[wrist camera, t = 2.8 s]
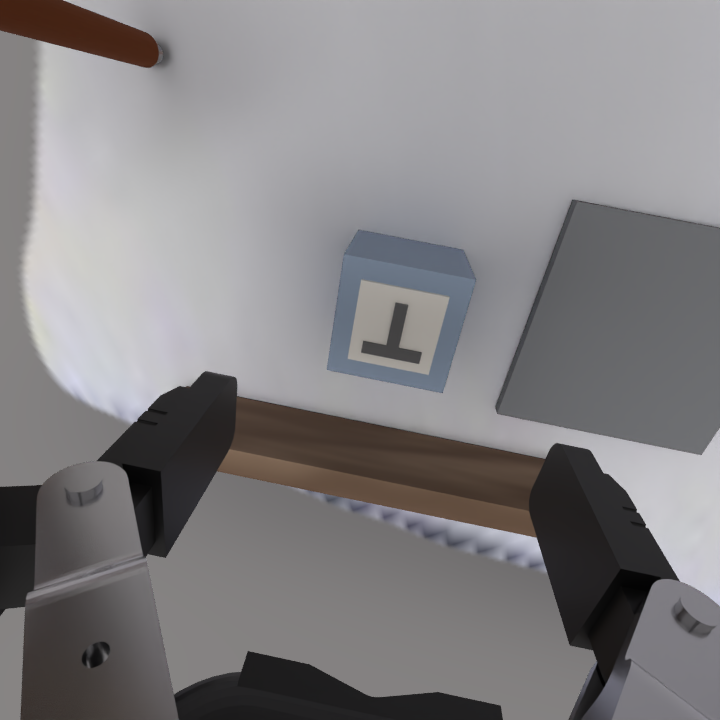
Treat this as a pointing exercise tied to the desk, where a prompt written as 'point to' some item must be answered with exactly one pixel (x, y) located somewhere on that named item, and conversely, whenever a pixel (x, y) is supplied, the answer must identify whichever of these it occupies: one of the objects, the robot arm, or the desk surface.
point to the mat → (624, 332)
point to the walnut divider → (383, 466)
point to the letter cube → (400, 310)
